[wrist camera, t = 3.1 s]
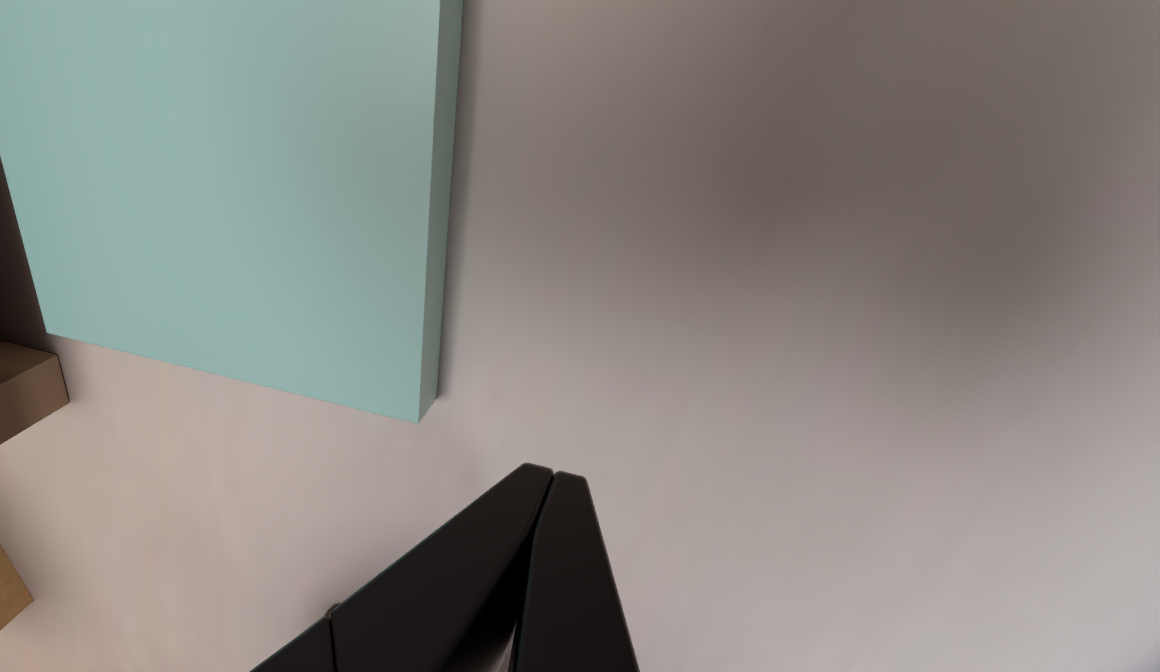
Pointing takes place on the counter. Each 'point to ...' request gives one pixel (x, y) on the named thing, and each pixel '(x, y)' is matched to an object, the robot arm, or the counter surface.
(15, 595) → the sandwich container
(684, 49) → the counter surface
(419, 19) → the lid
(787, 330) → the counter surface
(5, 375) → the low shelf
